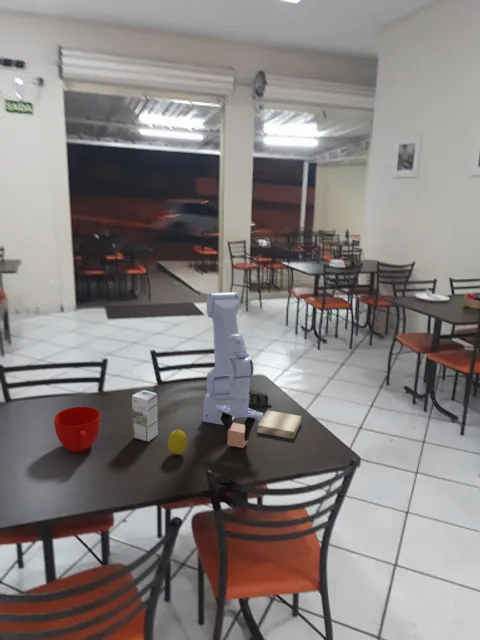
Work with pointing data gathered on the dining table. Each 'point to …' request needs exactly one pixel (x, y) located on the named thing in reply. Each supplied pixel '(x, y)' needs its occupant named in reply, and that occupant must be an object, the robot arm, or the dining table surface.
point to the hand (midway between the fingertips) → (238, 437)
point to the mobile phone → (258, 399)
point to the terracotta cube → (236, 435)
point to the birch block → (279, 424)
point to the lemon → (177, 442)
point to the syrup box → (144, 415)
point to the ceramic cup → (77, 427)
